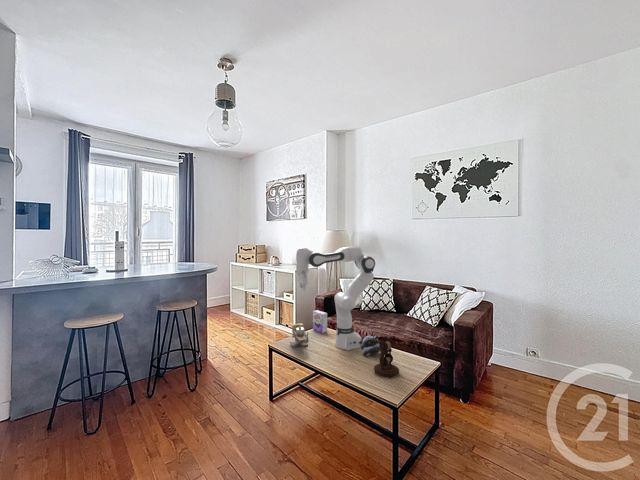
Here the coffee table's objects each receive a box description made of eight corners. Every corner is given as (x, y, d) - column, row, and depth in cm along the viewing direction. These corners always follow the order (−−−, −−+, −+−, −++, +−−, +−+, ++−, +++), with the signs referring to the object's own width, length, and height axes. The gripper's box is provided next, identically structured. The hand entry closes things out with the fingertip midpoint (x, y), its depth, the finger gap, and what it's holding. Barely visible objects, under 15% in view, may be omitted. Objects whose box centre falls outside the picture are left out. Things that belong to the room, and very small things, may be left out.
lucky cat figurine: (361, 357, 202) (356, 336, 208) (363, 357, 213) (358, 337, 219) (382, 352, 199) (377, 331, 205) (384, 352, 210) (378, 332, 216)
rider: (302, 332, 223) (302, 325, 223) (304, 334, 218) (303, 327, 218) (296, 333, 222) (296, 326, 222) (297, 335, 217) (297, 328, 217)
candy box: (312, 329, 262) (312, 310, 262) (317, 328, 266) (317, 309, 266) (322, 333, 251) (322, 314, 251) (327, 332, 255) (327, 312, 255)
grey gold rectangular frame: (305, 340, 234) (304, 323, 234) (311, 353, 210) (311, 333, 210) (289, 342, 232) (289, 324, 231) (294, 354, 207) (294, 334, 207)
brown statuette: (381, 365, 190) (381, 334, 190) (403, 371, 181) (403, 339, 180) (369, 373, 179) (369, 340, 178) (392, 381, 169) (392, 346, 169)
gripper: (309, 271, 208) (309, 291, 208) (304, 268, 228) (304, 286, 228) (300, 271, 207) (300, 291, 207) (295, 268, 227) (296, 286, 227)
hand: (302, 288), depth 218 cm, fingers open, 8 cm apart
